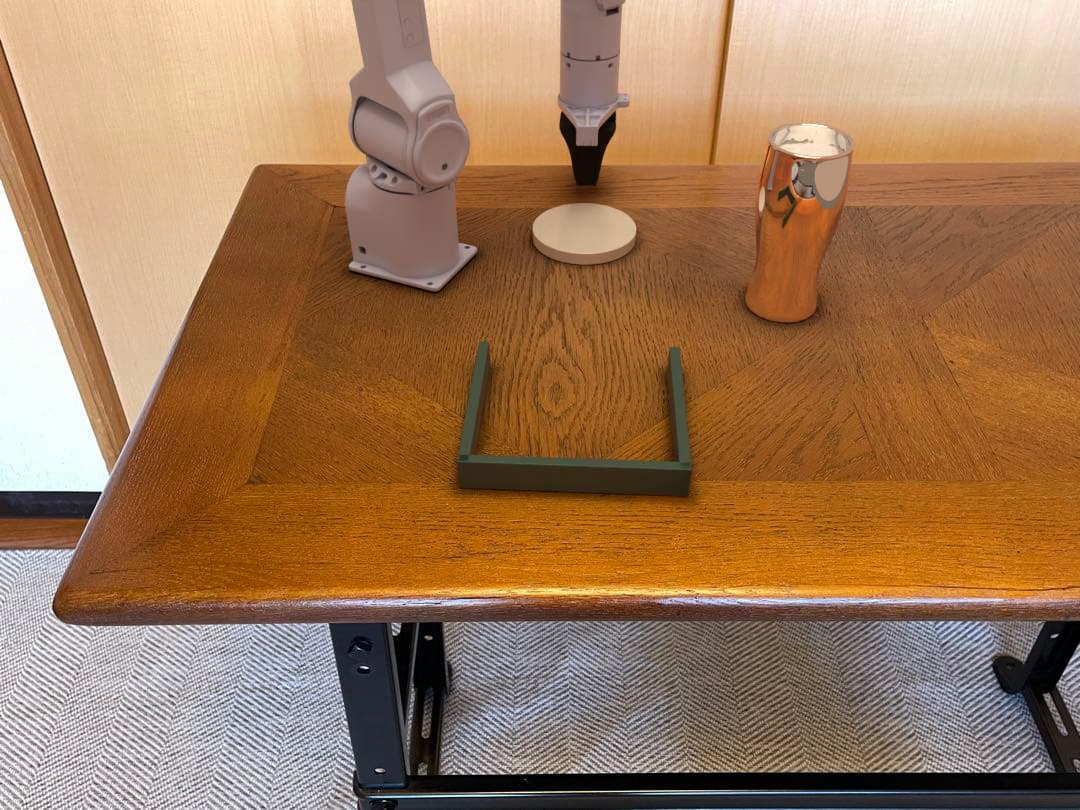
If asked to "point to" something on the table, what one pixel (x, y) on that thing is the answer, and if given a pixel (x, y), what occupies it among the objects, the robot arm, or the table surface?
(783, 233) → the beer glass
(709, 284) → the table surface
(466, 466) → the green u-shaped bracket
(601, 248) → the plate
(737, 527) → the table surface
